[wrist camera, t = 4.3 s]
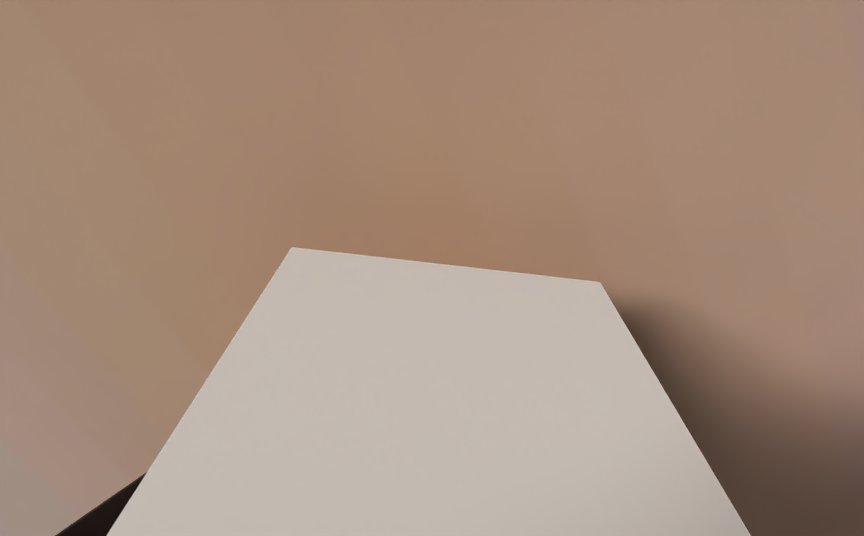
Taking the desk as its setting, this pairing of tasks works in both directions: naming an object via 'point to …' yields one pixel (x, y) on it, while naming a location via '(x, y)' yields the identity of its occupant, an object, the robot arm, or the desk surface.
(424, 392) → the small block
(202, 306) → the desk surface
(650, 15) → the desk surface
